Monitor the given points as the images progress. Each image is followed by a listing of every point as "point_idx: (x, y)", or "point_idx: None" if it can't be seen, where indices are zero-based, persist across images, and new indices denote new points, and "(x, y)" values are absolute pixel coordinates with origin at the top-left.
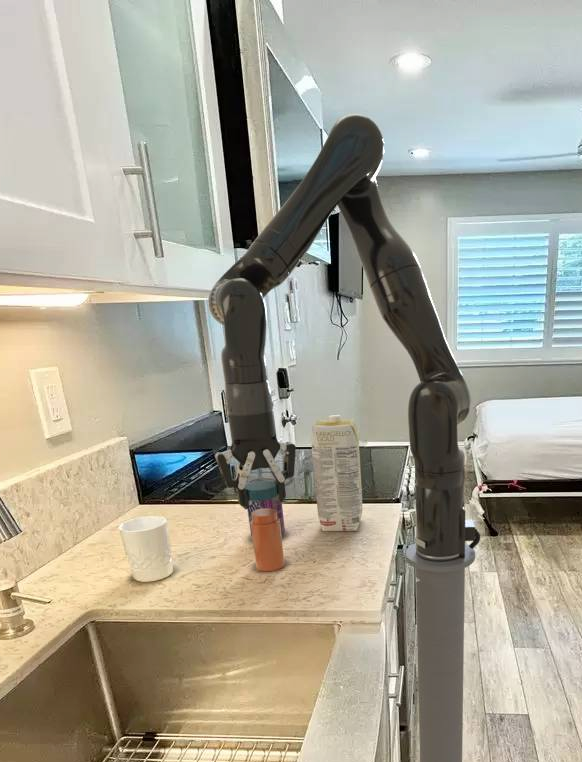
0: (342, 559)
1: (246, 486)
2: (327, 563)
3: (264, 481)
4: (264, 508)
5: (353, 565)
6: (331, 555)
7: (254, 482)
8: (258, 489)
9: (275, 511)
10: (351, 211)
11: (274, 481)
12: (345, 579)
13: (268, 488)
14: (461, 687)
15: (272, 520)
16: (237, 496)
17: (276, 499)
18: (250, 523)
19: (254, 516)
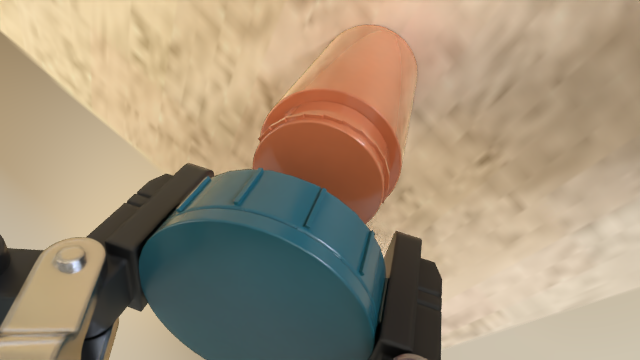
0: (555, 211)
1: (156, 259)
2: (500, 197)
3: (322, 281)
4: (350, 137)
5: (534, 257)
6: (566, 165)
7: (242, 233)
8: (208, 352)
9: (365, 221)
10: None
11: (375, 349)
12: (449, 284)
13: None
14: None
15: None
16: (124, 203)
17: (393, 238)
18: (262, 127)
19: None
